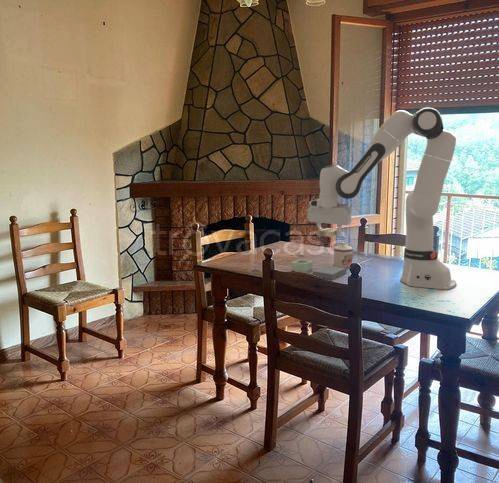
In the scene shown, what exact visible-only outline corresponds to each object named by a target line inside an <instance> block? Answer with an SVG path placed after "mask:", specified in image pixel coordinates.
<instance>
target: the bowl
mask: <svg viewBox="0 0 499 483" xmlns="http://www.w3.org/2000/svg"><path fill="white" fill-rule="evenodd" d="M313 264H314V263H313V260H307V259H300V258H299V259H297V260H294V261H291V272H292V271H298V272H305V274H308V273H310V272H313Z"/></svg>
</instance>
